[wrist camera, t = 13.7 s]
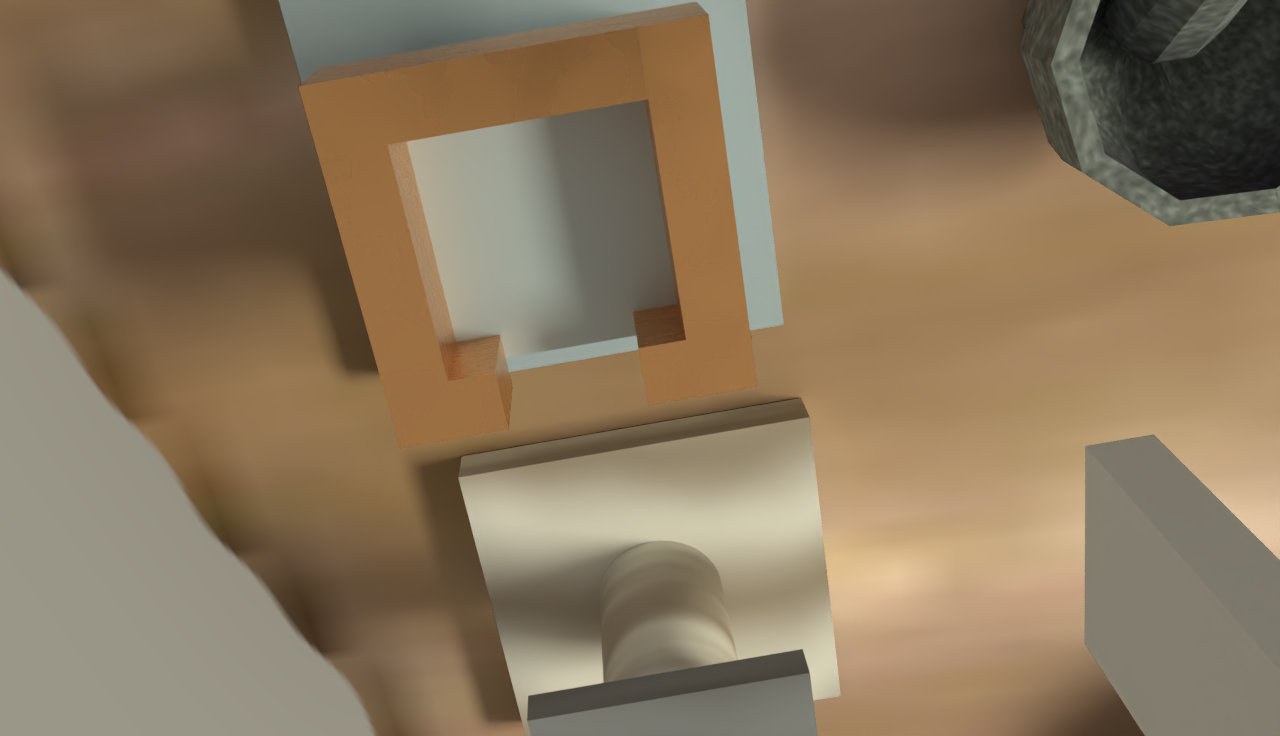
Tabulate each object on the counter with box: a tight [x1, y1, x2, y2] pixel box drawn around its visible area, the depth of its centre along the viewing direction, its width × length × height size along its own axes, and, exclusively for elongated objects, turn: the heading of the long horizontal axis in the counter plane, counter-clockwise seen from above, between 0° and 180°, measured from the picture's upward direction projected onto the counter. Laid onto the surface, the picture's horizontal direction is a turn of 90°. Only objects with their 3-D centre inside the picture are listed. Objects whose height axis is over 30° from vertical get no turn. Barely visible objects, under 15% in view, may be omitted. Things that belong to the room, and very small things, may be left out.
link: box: [298, 2, 757, 448], centre depth 28 cm, size 9×9×2 cm
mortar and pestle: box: [1020, 0, 1280, 226], centre depth 29 cm, size 11×9×12 cm
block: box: [279, 0, 784, 372], centre depth 33 cm, size 13×13×7 cm
